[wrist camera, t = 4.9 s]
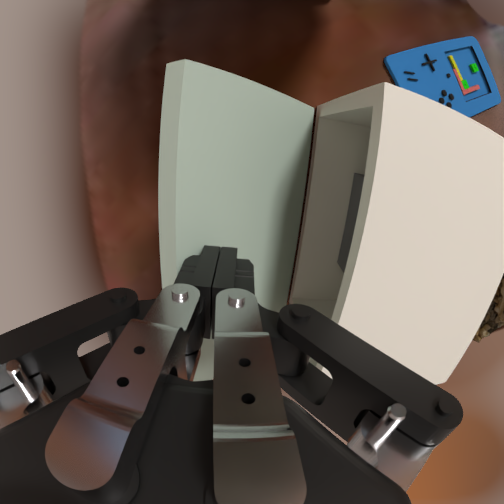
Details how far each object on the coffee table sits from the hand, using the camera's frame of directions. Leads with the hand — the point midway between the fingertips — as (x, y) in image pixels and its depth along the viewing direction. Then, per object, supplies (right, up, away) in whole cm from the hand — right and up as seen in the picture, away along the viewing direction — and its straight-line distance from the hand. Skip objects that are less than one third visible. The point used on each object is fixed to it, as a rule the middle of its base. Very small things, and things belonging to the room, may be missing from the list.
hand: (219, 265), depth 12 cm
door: (+5, +4, +10) cm, 11 cm away
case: (+12, +4, +11) cm, 16 cm away
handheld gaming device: (+21, +18, +5) cm, 28 cm away
